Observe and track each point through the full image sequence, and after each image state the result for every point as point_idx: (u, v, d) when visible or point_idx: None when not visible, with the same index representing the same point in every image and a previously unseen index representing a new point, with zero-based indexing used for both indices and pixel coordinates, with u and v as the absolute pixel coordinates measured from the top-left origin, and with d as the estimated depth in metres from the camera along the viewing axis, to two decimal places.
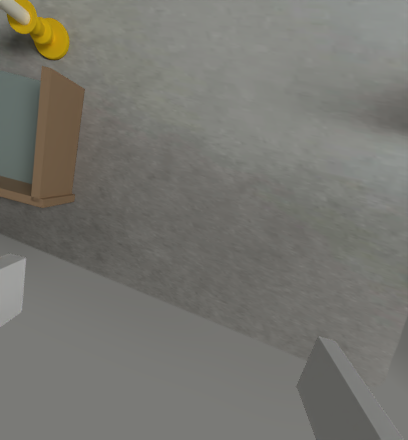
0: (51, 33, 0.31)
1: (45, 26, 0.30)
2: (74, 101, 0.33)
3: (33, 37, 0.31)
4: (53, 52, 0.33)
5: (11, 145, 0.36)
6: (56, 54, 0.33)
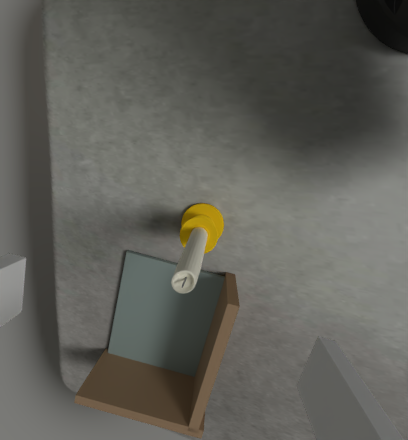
0: None
1: None
2: None
3: None
4: None
5: (139, 328, 0.31)
6: None
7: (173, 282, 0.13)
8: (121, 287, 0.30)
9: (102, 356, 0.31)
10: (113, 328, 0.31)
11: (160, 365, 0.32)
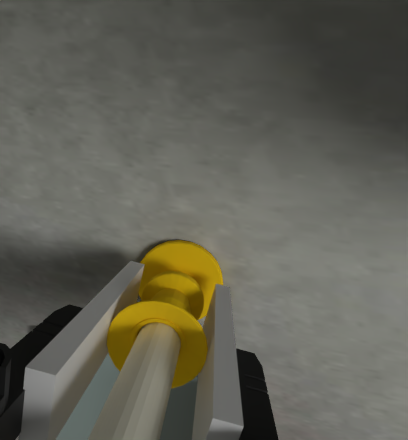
0: (202, 309, 0.11)
1: (192, 302, 0.11)
2: None
3: None
4: None
5: None
6: None
7: None
8: None
9: None
10: None
11: None
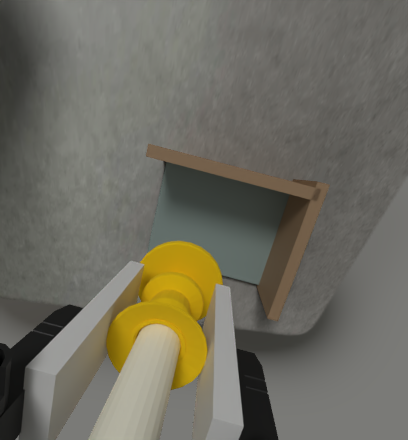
0: (202, 310, 0.11)
1: (192, 303, 0.11)
2: None
3: None
4: None
5: (227, 250, 0.30)
6: None
7: None
8: None
9: (258, 290, 0.30)
10: (229, 275, 0.31)
11: (275, 230, 0.29)
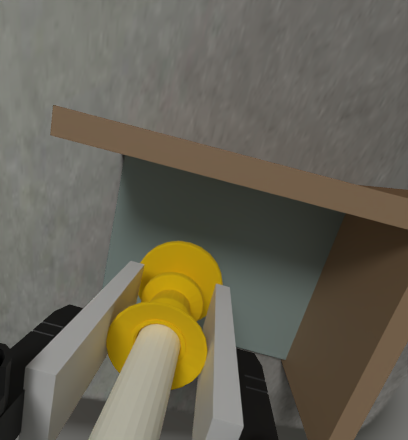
0: (201, 310, 0.11)
1: (192, 303, 0.11)
2: None
3: None
4: None
5: (234, 304, 0.18)
6: None
7: None
8: None
9: (286, 371, 0.18)
10: (236, 345, 0.18)
11: (316, 274, 0.17)
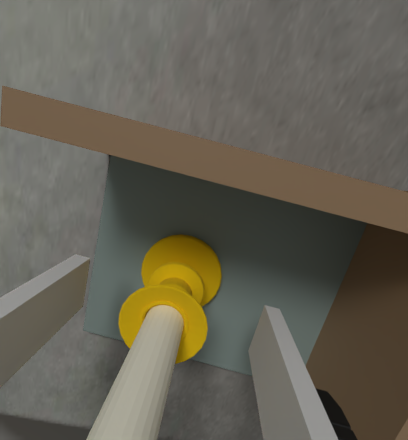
0: (202, 296, 0.13)
1: (193, 289, 0.12)
2: None
3: None
4: None
5: (237, 325, 0.15)
6: None
7: None
8: None
9: None
10: (239, 370, 0.16)
11: (333, 291, 0.14)
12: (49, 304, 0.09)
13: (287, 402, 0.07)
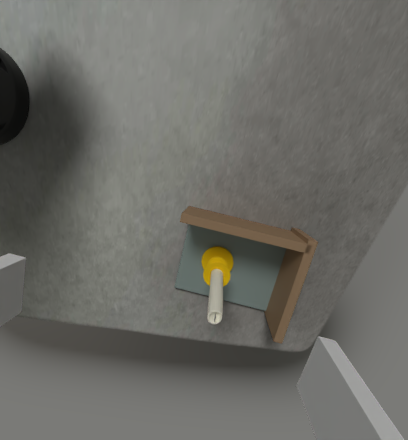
0: None
1: None
2: (202, 211, 0.34)
3: None
4: None
5: (240, 283, 0.37)
6: None
7: (208, 317, 0.22)
8: (204, 293, 0.38)
9: (266, 315, 0.37)
10: (241, 303, 0.38)
11: (278, 268, 0.36)
12: None
13: None
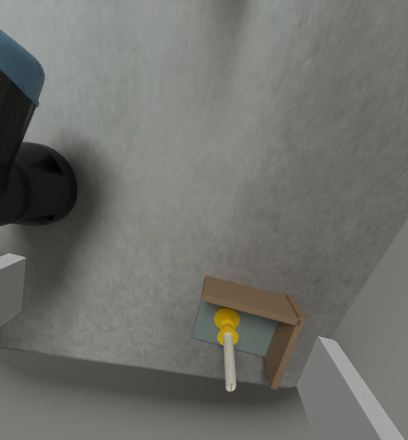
0: None
1: (232, 326, 0.43)
2: (216, 283, 0.43)
3: None
4: None
5: (244, 335, 0.46)
6: None
7: (226, 387, 0.31)
8: (215, 342, 0.47)
9: (264, 361, 0.46)
10: (245, 351, 0.47)
11: (275, 325, 0.45)
12: None
13: None
